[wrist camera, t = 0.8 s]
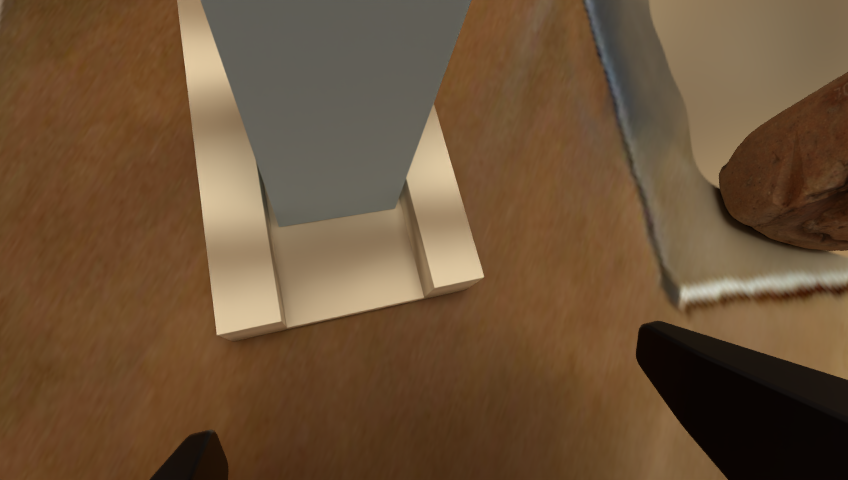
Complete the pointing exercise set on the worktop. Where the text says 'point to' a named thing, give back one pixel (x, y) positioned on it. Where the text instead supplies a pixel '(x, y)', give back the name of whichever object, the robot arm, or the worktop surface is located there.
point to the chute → (313, 241)
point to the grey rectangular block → (334, 94)
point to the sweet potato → (795, 173)
